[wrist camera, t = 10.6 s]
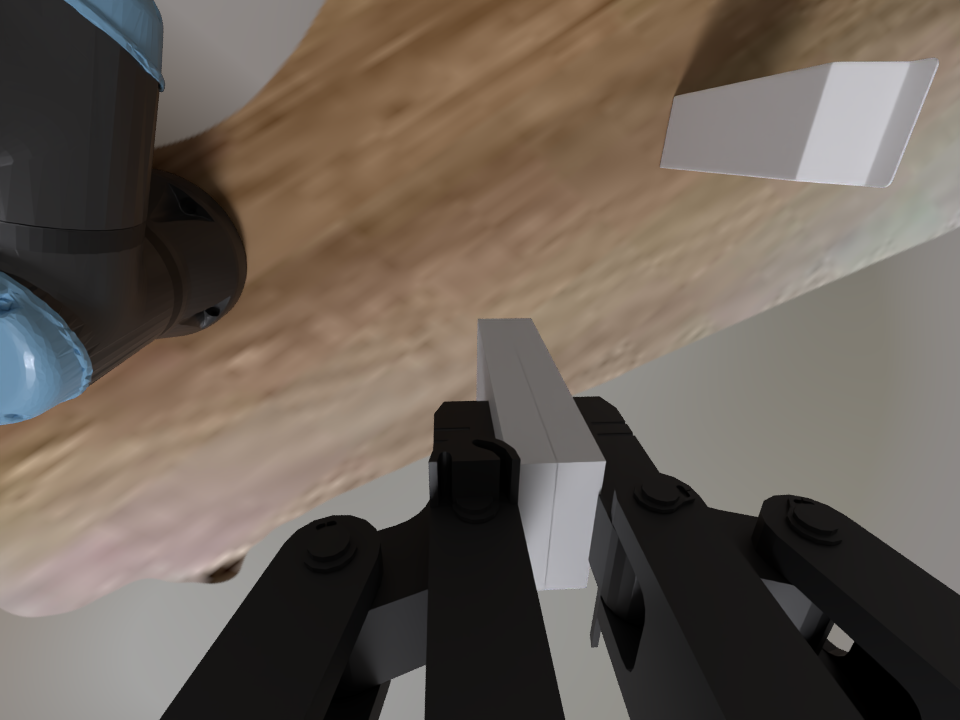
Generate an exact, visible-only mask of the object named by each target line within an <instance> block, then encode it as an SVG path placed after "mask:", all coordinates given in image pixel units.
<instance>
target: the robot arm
mask: <svg viewBox="0 0 960 720" xmlns="http://www.w3.org/2000/svg"><path fill="white" fill-rule="evenodd" d="M162 48H163V22H162V17H161V14H160V11H159V10H158V8H157V6H156V4H155V2H154V0H0V425H5V424H11V423H17V422H21V421H24V420H27V419H31V418H33V417H36V416H38V415H40V414H42V413H44V412H45V411H47V410H49V409H51V408H52V407H54V406H56V405H57V404H59V403H61V402H64V401H67V400H69V399H73V398H75V397H77V396H79V395H80V394H82V393H83V392H84V391H85V390H86V388H87V387H88V386H90V385H91V384H92V383H94V382H95V381H97V380H98V379H99V378H101V377H102V376H104V375H105V374H107V373H108V372H109V371H111V370H112V369H114V368H115V367H116V366H118V365H119V364H121V363H122V362H124V361H125V360H126V359H128V358H129V357H131V356H132V355H134V354H135V353H136V352H138V351H139V350H141V349H142V348H143V347H145V346H146V345H148V344H149V343H151V342H152V341H154V340H155V339H161V338H169V337H177V336H184V335H189V334H193V333H196V332H198V331H201V330H203V329H205V328H207V327H209V326H211V325H212V324H214V323H215V322H217V321H218V320H219V319H221V318H222V317H223V316H224V315H226V314H227V313H228V312H229V311H230V310H231V309H232V308H233V307H234V305H235V304H236V302H237V301H238V299H239V297H240V295H241V293H242V290H243V288H244V284H245V279H246V258H245V252H244V248H243V245H242V242H241V239H240V236H239V234H238V232H237V230H236V228H235V226H234V224H233V223H232V221H231V220H230V218H229V217H228V215H227V214H226V213H225V211H224V210H223V209H222V208H221V207H220V206H219V205H218V204H217V202H216V201H214V200H213V199H212V198H211V197H210V196H209V195H208V194H207V193H205V192H204V191H203V190H201V189H200V188H199V187H197V186H196V185H194V184H192V183H191V182H189V181H187V180H185V179H183V178H181V177H179V176H176V175H174V174H171V173H168V172H165V171H161V170H157V169H152V162H153V152H154V141H155V131H156V121H157V110H158V101H159V92H163V91H164V89H165V82H164V78H163V76H162V74H161V69H162V68H161V67H162ZM429 489H430V500H429V502H428V503H427V505H426V507H425V508H424V509H423V510H422V511H421V512H420V513H419V514H417V515H416V516H414V517H413V518H411V519H410V520H408V521H406V522H403V523H401V524H398V525H396V526H393V527H389V528H386V529H382V530H379V531H377V530H376V528H374V527H373V526H372V525H371V524H370V523H369V522H368V521H366V520H364V519H361V518H358V517H355V516H351V515H336V516H335V515H332V516H329V517H325V518H322V519H318V520H314V521H313V522H311V523H309V524H307V525H305V526H304V527H302V528H300V529H298V530H297V531H296V532H295V533H294V534H293V535H292V536H291V537H290V538H289V539H288V540H287V541H286V542H285V543H284V544H283V546H282V547H281V549H280V550H279V552H278V553H277V554H276V556H275V557H274V559H273V560H272V561H271V563H270V564H269V566H268V567H267V568H266V570H265V571H264V573H263V574H262V576H261V577H260V578H259V580H258V581H257V583H256V584H255V585H254V587H253V588H252V590H251V591H250V592H249V594H248V595H247V597H246V598H245V600H244V601H243V603H242V604H241V605H240V607H239V608H238V609H237V611H236V612H235V614H234V615H233V616H232V618H231V619H230V621H229V622H228V624H227V625H226V626H225V628H224V629H223V631H222V632H221V633H220V635H219V636H218V638H217V639H216V640H215V642H214V643H213V645H212V646H211V647H210V649H209V650H208V652H207V653H206V655H205V656H204V657H203V659H202V660H201V662H200V663H199V664H198V666H197V667H196V669H195V670H194V672H193V673H192V675H191V676H190V677H189V679H188V680H187V681H186V683H185V684H184V686H183V687H182V688H181V690H180V691H179V693H178V694H177V695H176V697H175V698H174V700H173V701H172V703H171V704H170V705H169V707H168V708H167V710H166V711H165V712H164V714H163V715H162V717H161V718H160V720H378V719H379V716H380V713H381V710H382V707H383V704H384V700H385V698H386V694H387V692H388V688H389V685H390V682H391V679H393V678H395V677H398V676H400V675H403V674H405V673H407V672H410V671H412V670H414V669H416V668H419V667H421V666H424V665H426V687H425V689H426V691H425V720H565V716H564V712H563V707H562V703H561V698H560V694H559V690H558V685H557V680H556V676H555V671H554V666H553V662H552V657H551V653H550V648H549V643H548V639H547V634H546V630H545V625H544V621H543V616H542V612H541V607H540V603H539V598H538V593H537V590H555V589H574V588H586V587H587V580H588V574H589V568H590V566H591V569H592V572H593V575H594V577H595V580H596V583H597V586H598V591H597V596H596V602H595V608H594V615H593V620H592V626H591V632H590V639H591V647H598V642H599V637H600V632H602V634H603V638H604V641H605V644H606V647H607V650H608V653H609V656H610V659H611V662H612V665H613V668H614V671H615V674H616V678H617V681H618V684H619V686H620V690H621V693H622V696H623V699H624V702H625V705H626V708H627V711H628V714H629V717H630V720H960V595H959V594H957V593H956V592H954V591H953V590H952V589H950V588H948V587H947V586H946V585H944V584H943V583H942V582H940V581H939V580H937V579H936V578H934V577H933V576H931V575H930V574H929V573H927V572H926V571H924V570H923V569H922V568H920V567H919V566H917V565H916V564H914V563H913V562H911V561H910V560H909V559H907V558H906V557H904V556H903V555H901V554H900V553H898V552H897V551H896V550H894V549H893V548H891V547H890V546H889V545H887V544H885V543H884V542H883V541H881V540H880V539H879V538H877V537H876V536H874V535H873V534H871V533H870V532H868V531H867V530H866V529H864V528H863V527H861V526H860V525H858V524H857V523H856V522H854V521H853V520H851V519H850V518H848V517H847V516H845V515H844V514H842V513H840V512H838V511H837V510H835V509H833V508H831V507H830V506H828V505H825V504H823V503H820V502H817V501H814V500H812V499H809V498H805V497H800V496H794V495H776V496H772V497H770V498H768V499H767V500H765V501H764V502H763V505H762V508H761V511H760V514H759V516H758V517H754V516H749V515H744V514H738V513H733V512H727V511H722V510H717V509H714V508H709V507H707V505H706V504H705V502H704V501H703V500H702V498H701V497H700V496H699V495H698V494H697V493H696V492H695V491H694V490H693V489H692V488H691V487H690V486H689V485H687V484H685V483H683V482H681V481H680V480H678V479H676V478H674V477H672V476H668V475H665V474H662V473H659V471H658V470H657V468H656V467H655V465H654V464H653V462H652V461H651V459H650V458H649V456H648V455H647V453H646V452H645V450H644V449H643V447H642V446H641V444H640V443H639V441H638V440H637V438H636V437H635V436H633V433H632V431H631V429H630V428H629V426H628V425H627V424H625V420H624V419H623V417H622V416H621V414H620V413H619V411H618V410H617V408H616V407H614V406H613V405H611V404H610V403H608V402H607V401H605V400H604V399H602V398H601V397H599V396H598V397H572V395H571V394H570V392H569V390H568V388H567V386H566V384H565V382H564V380H563V378H562V376H561V374H560V373H559V371H558V369H557V367H556V365H555V363H554V361H553V359H552V357H551V355H550V353H549V352H548V350H547V348H546V346H545V344H544V342H543V340H542V338H541V336H540V334H539V332H538V331H537V329H536V327H535V325H534V323H533V321H532V319H531V318H514V319H478V336H477V401H451V402H443V403H442V405H441V406H440V407H439V409H438V410H437V411H436V412H435V414H434V443H433V451H432V454H431V457H430V459H429ZM834 623H835V624H836V625H837V626H838V627H840V628H841V629H842V630H843V631H844V632H845V633H846V634H848V636H849V637H850V638H852V639H853V640H854V643H853V645H852V647H851V649H850V651H849V652H846V651H844V650H841V649H839V648H837V647H836V646H835V645H833V644H832V643H831V642H830V641H829V640H828V639H827V637H828V635H829V633H830V631H831V629H832V627H833V625H834Z"/></svg>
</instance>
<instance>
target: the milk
mask: <svg viewBox="0 0 960 720" xmlns="http://www.w3.org/2000/svg"><path fill="white" fill-rule="evenodd" d="M938 65H939V60H938V59H937V58H927V59H921V60H916V61H885V62H832V63H827V64H823V65H818V66H813V67H809V68H804V69H799V70H795V71H790V72H785V73H781V74H776V75H771V76H766V77H762V78H757V79H752V80H748V81H743V82H738V83H734V84H729V85H724V86H720V87H715V88H710V89H706V90H701V91H696V92H692V93H687V94H682V95H678V96H674V99H673V104H672V109H671V114H670V119H669V124H668V129H667V134H666V139H665V144H664V148H663V153H662V158H661V163H660V167H661V168H670V169H680V170H690V171H700V172H710V173H720V174H731V175H741V176H751V177H761V178H771V179H781V180H792V181H803V182H816V183H829V184H842V185H855V186H868V187H878V188H885V187H887V186H889V185H890V184H891V183H892V181H893V179H894V176H895V174H896V171H897V169H898V166H899V164H900V161H901V159H902V156H903V154H904V151H905V149H906V146H907V143H908V141H909V138H910V136H911V133H912V131H913V128H914V126H915V123H916V121H917V118H918V116H919V113H920V111H921V108H922V106H923V103H924V101H925V98H926V96H927V93H928V91H929V88H930V86H931V83H932V81H933V78H934V76H935V73H936V71H937V68H938Z"/></svg>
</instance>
